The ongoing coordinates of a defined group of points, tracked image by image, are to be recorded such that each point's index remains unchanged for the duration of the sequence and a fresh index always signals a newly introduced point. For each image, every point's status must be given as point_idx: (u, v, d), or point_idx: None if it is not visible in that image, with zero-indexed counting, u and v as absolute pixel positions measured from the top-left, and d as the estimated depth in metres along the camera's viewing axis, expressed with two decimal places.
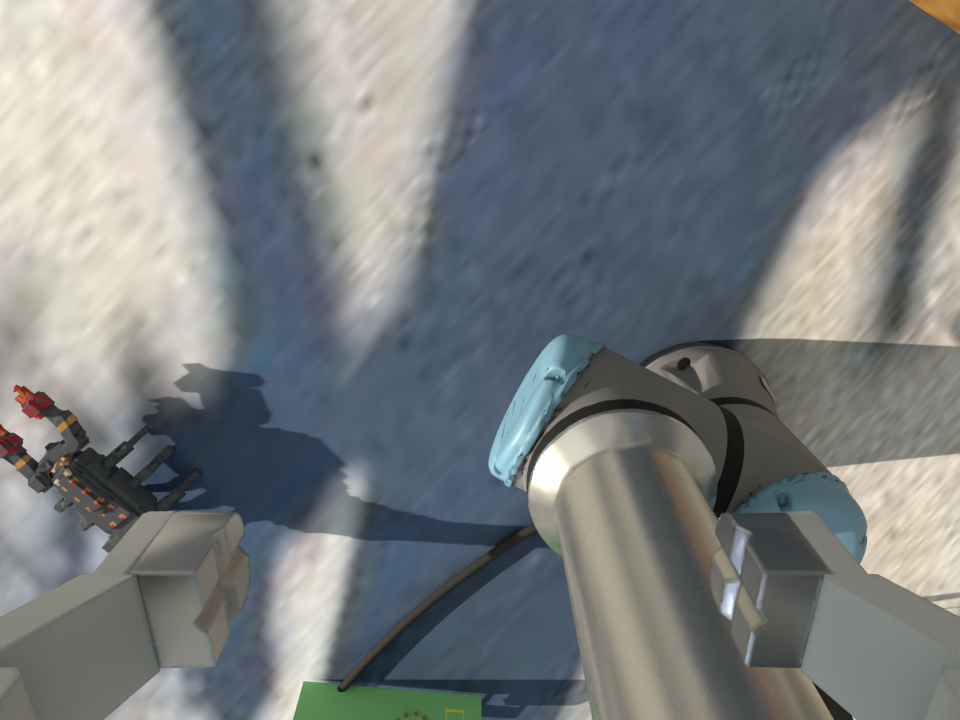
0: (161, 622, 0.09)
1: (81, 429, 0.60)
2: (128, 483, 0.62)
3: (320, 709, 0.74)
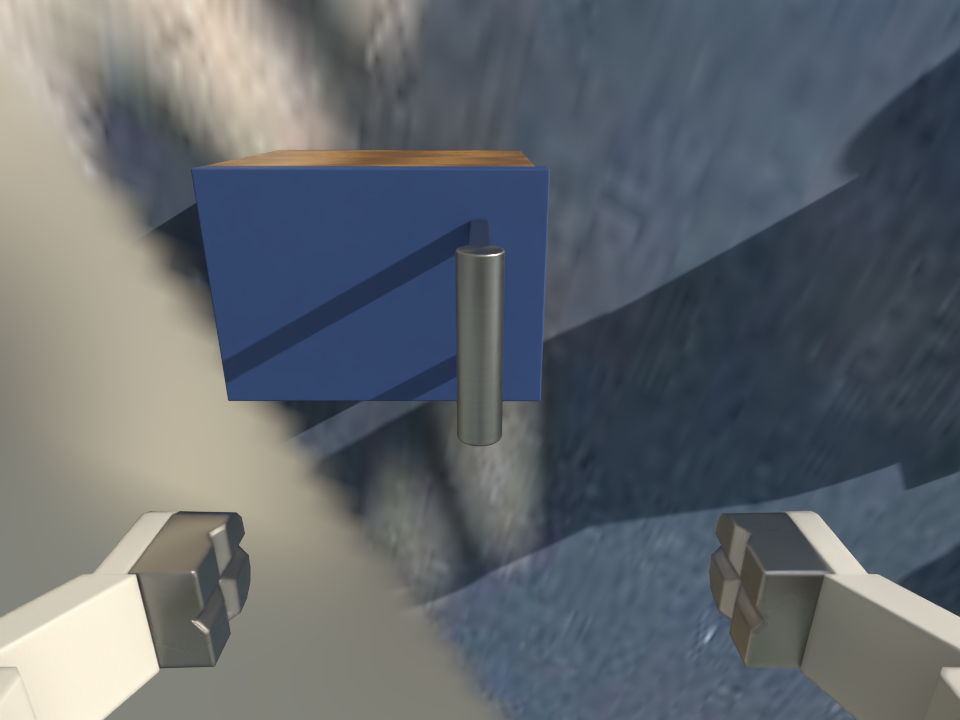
0: (161, 622, 0.09)
1: None
2: None
3: None
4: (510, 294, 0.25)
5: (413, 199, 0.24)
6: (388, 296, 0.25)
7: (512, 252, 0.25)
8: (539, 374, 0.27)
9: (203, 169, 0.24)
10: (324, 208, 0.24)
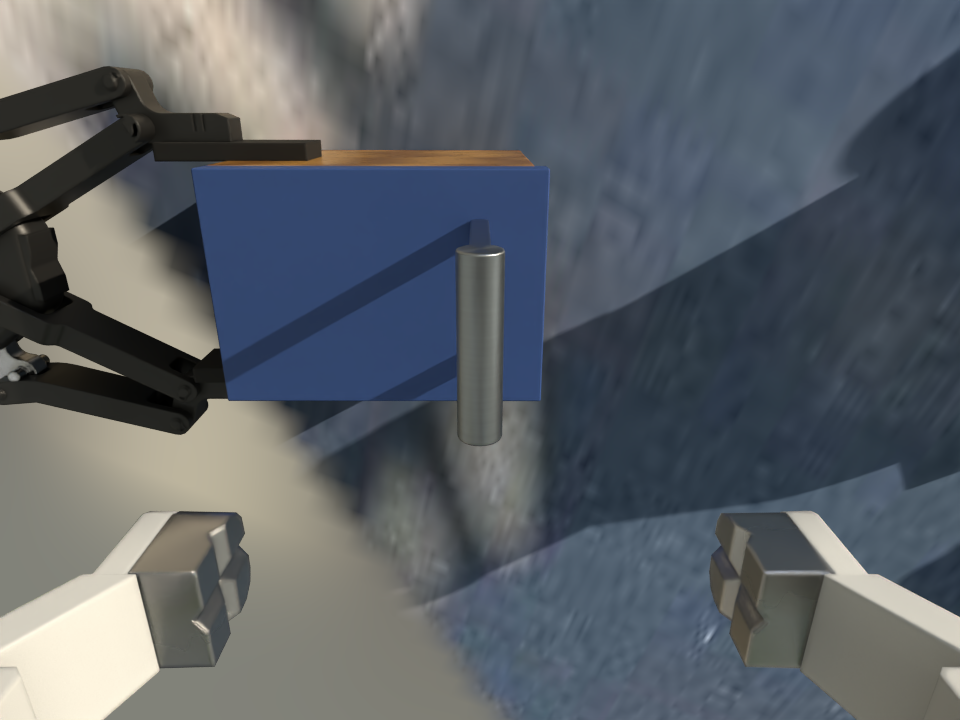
0: (161, 622, 0.09)
1: None
2: None
3: None
4: (510, 294, 0.25)
5: (413, 198, 0.24)
6: (388, 296, 0.25)
7: (512, 251, 0.25)
8: (539, 374, 0.27)
9: (203, 169, 0.24)
10: (324, 207, 0.24)
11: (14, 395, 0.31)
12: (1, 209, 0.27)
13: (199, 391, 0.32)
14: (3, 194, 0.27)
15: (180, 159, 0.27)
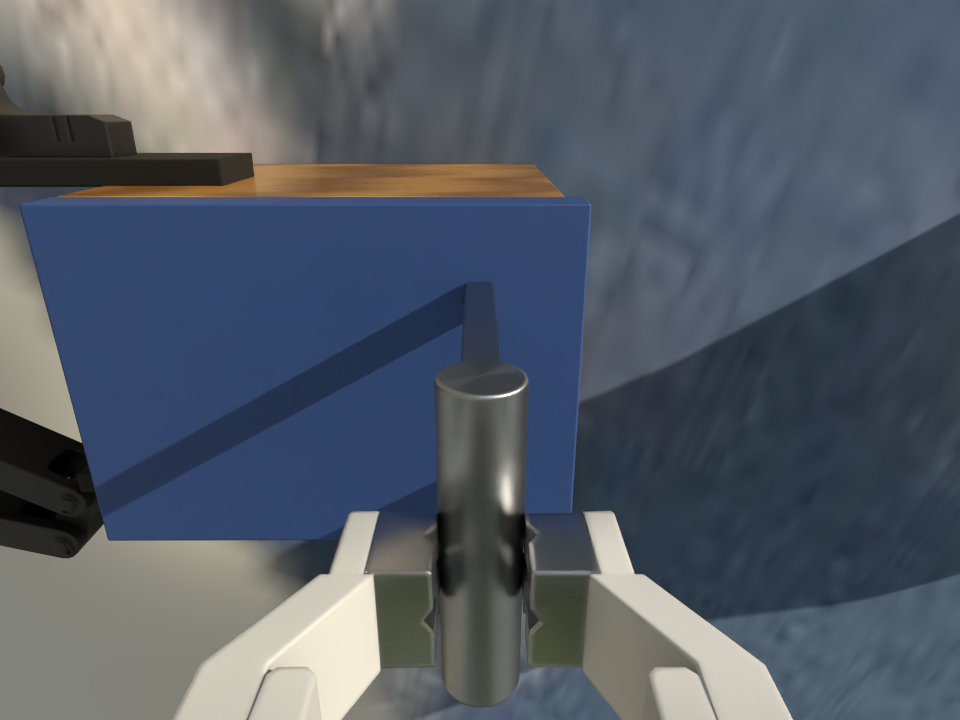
0: (390, 622, 0.09)
1: None
2: None
3: None
4: None
5: (375, 250, 0.15)
6: (339, 395, 0.17)
7: (530, 329, 0.16)
8: (569, 503, 0.18)
9: (38, 205, 0.15)
10: (234, 264, 0.15)
11: None
12: None
13: (91, 500, 0.23)
14: None
15: (34, 184, 0.18)
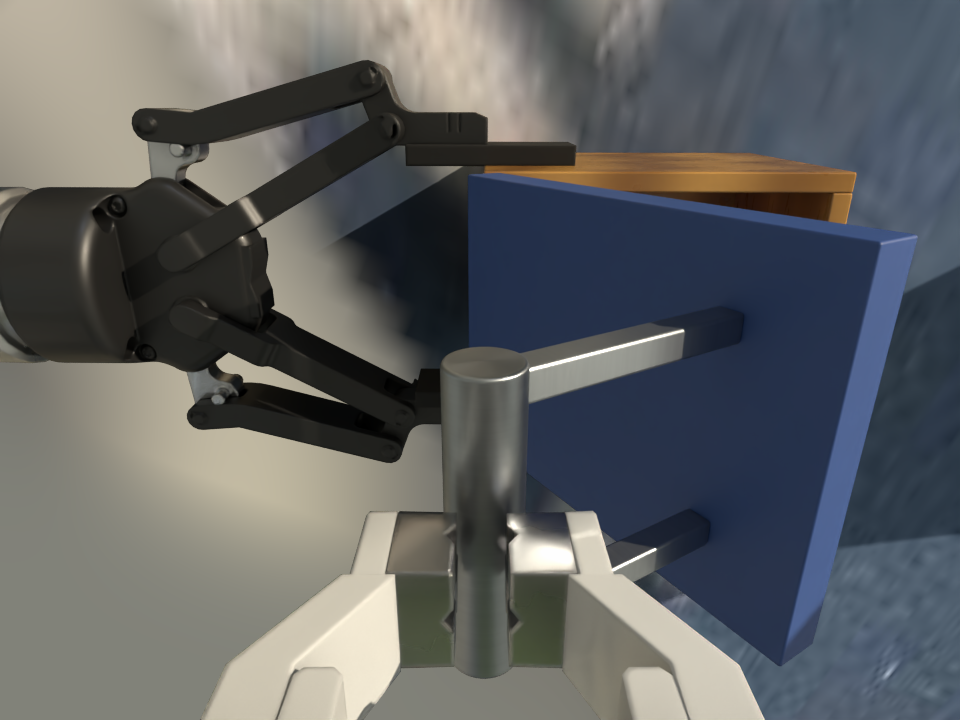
0: (410, 622, 0.09)
1: None
2: None
3: None
4: (761, 457, 0.14)
5: (647, 251, 0.15)
6: None
7: (776, 384, 0.13)
8: (785, 622, 0.14)
9: (474, 176, 0.21)
10: (556, 241, 0.18)
11: (216, 419, 0.29)
12: (233, 218, 0.25)
13: (414, 416, 0.29)
14: (236, 202, 0.25)
15: (434, 163, 0.24)
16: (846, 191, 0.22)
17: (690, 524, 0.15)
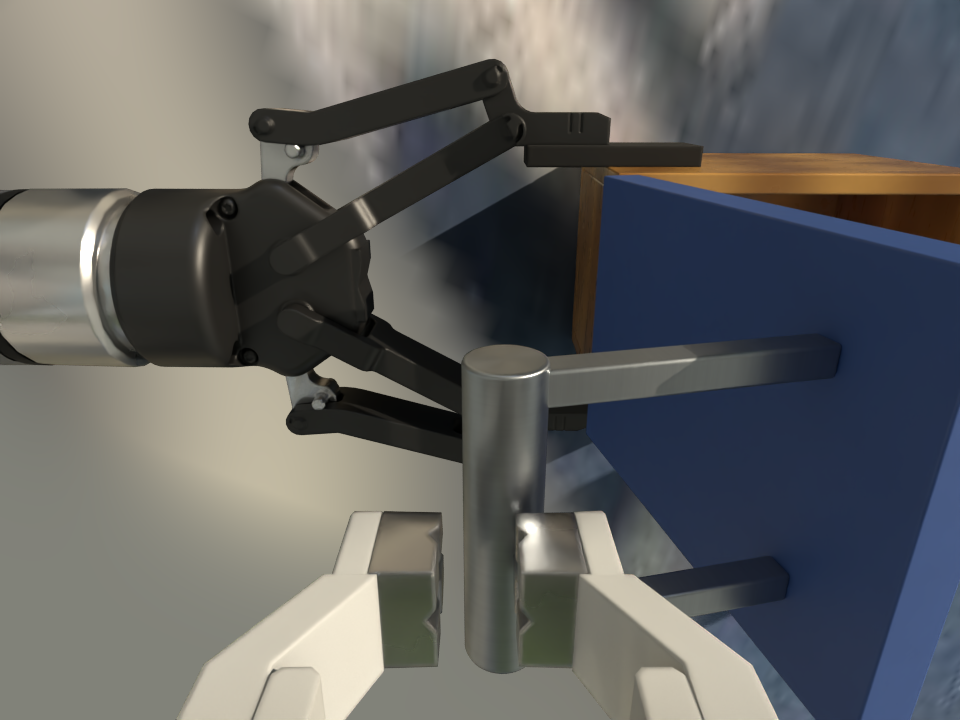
0: (393, 622, 0.09)
1: None
2: None
3: None
4: (846, 512, 0.12)
5: (753, 265, 0.14)
6: (701, 403, 0.16)
7: (869, 429, 0.11)
8: (856, 709, 0.12)
9: (609, 178, 0.20)
10: (672, 249, 0.17)
11: (315, 425, 0.28)
12: (347, 221, 0.24)
13: None
14: (352, 204, 0.24)
15: (556, 164, 0.24)
16: None
17: (764, 572, 0.13)
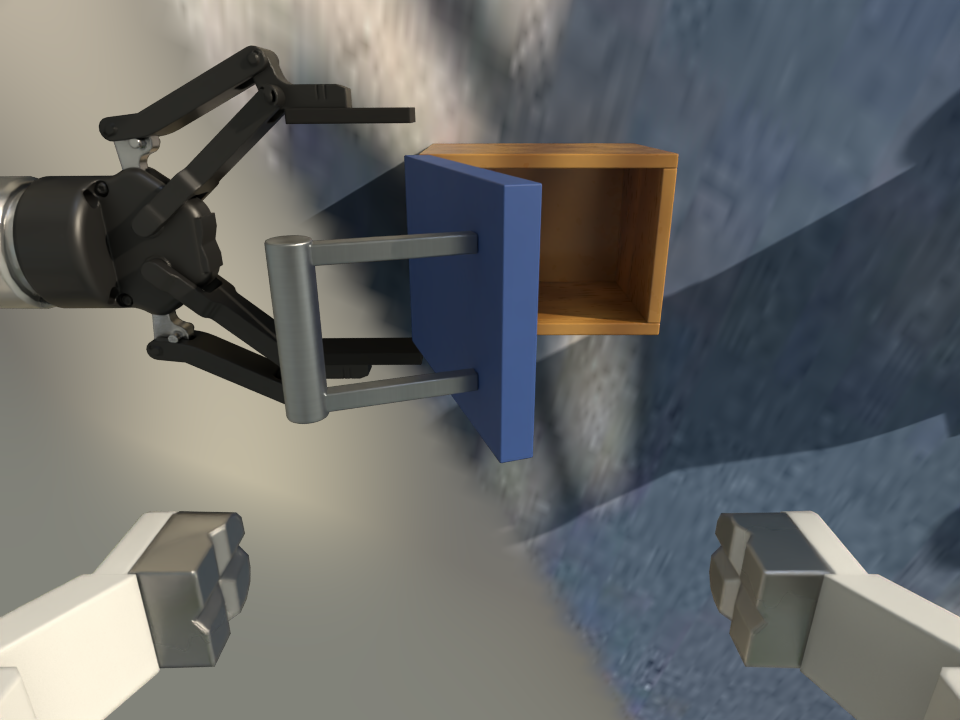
0: (161, 622, 0.09)
1: None
2: None
3: None
4: (487, 325, 0.22)
5: (453, 200, 0.24)
6: (447, 291, 0.26)
7: (487, 276, 0.21)
8: (498, 431, 0.22)
9: (406, 156, 0.30)
10: (430, 198, 0.27)
11: (169, 353, 0.38)
12: (186, 196, 0.34)
13: None
14: (188, 184, 0.34)
15: (306, 122, 0.33)
16: (672, 167, 0.32)
17: (464, 373, 0.23)
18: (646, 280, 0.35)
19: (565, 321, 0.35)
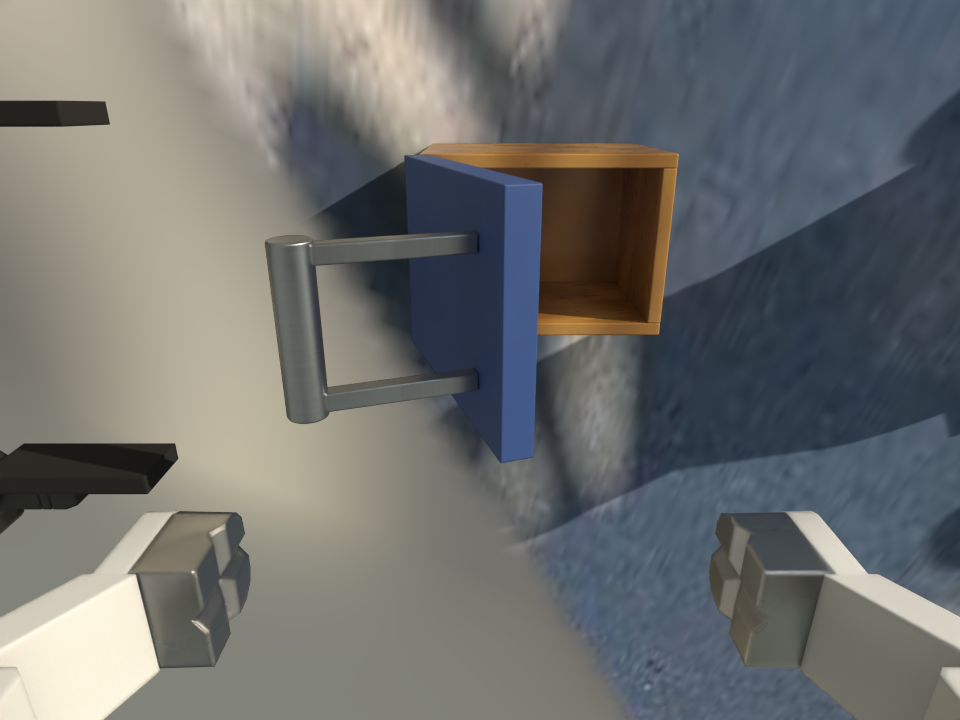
0: (161, 622, 0.09)
1: None
2: None
3: None
4: (488, 324, 0.22)
5: (454, 200, 0.24)
6: (447, 290, 0.26)
7: (488, 276, 0.21)
8: (499, 431, 0.22)
9: (406, 156, 0.30)
10: (431, 198, 0.27)
11: None
12: None
13: None
14: None
15: None
16: (672, 167, 0.32)
17: (464, 373, 0.23)
18: (646, 280, 0.35)
19: (565, 321, 0.35)
